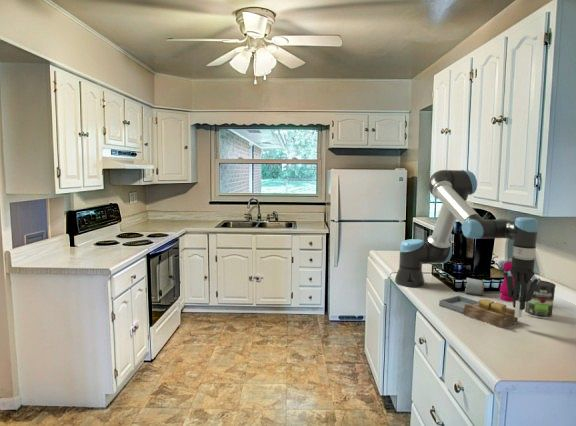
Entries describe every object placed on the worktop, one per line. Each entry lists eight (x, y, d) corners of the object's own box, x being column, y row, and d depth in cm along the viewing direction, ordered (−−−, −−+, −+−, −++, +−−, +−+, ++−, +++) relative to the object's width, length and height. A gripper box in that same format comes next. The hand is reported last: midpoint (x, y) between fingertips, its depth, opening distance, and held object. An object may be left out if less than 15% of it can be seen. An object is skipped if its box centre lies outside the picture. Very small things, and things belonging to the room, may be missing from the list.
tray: (439, 305, 182) (439, 300, 182) (457, 300, 190) (458, 295, 190) (463, 313, 172) (463, 308, 172) (482, 308, 180) (482, 302, 180)
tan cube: (478, 309, 169) (479, 300, 169) (484, 307, 172) (485, 298, 171) (488, 312, 166) (488, 303, 166) (493, 310, 168) (494, 301, 168)
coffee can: (555, 320, 167) (558, 287, 165) (526, 316, 170) (529, 284, 169) (548, 312, 176) (551, 281, 175) (522, 309, 180) (524, 278, 178)
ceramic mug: (483, 297, 196) (484, 281, 195) (465, 294, 199) (466, 279, 198) (481, 291, 206) (482, 276, 205) (464, 289, 209) (465, 274, 208)
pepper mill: (512, 302, 188) (516, 260, 186) (496, 298, 194) (499, 258, 191) (518, 299, 193) (522, 258, 191) (502, 296, 198) (505, 256, 196)
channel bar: (464, 315, 171) (464, 304, 170) (480, 310, 177) (481, 299, 177) (501, 328, 158) (502, 316, 157) (517, 322, 164) (518, 310, 164)
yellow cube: (490, 313, 165) (491, 303, 165) (495, 311, 167) (496, 302, 167) (500, 316, 162) (500, 306, 161) (505, 314, 164) (506, 305, 164)
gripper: (501, 255, 159) (496, 313, 161) (536, 262, 148) (530, 324, 150) (511, 253, 163) (506, 310, 165) (546, 260, 152) (540, 320, 155)
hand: (518, 316), depth 158 cm, fingers closed
